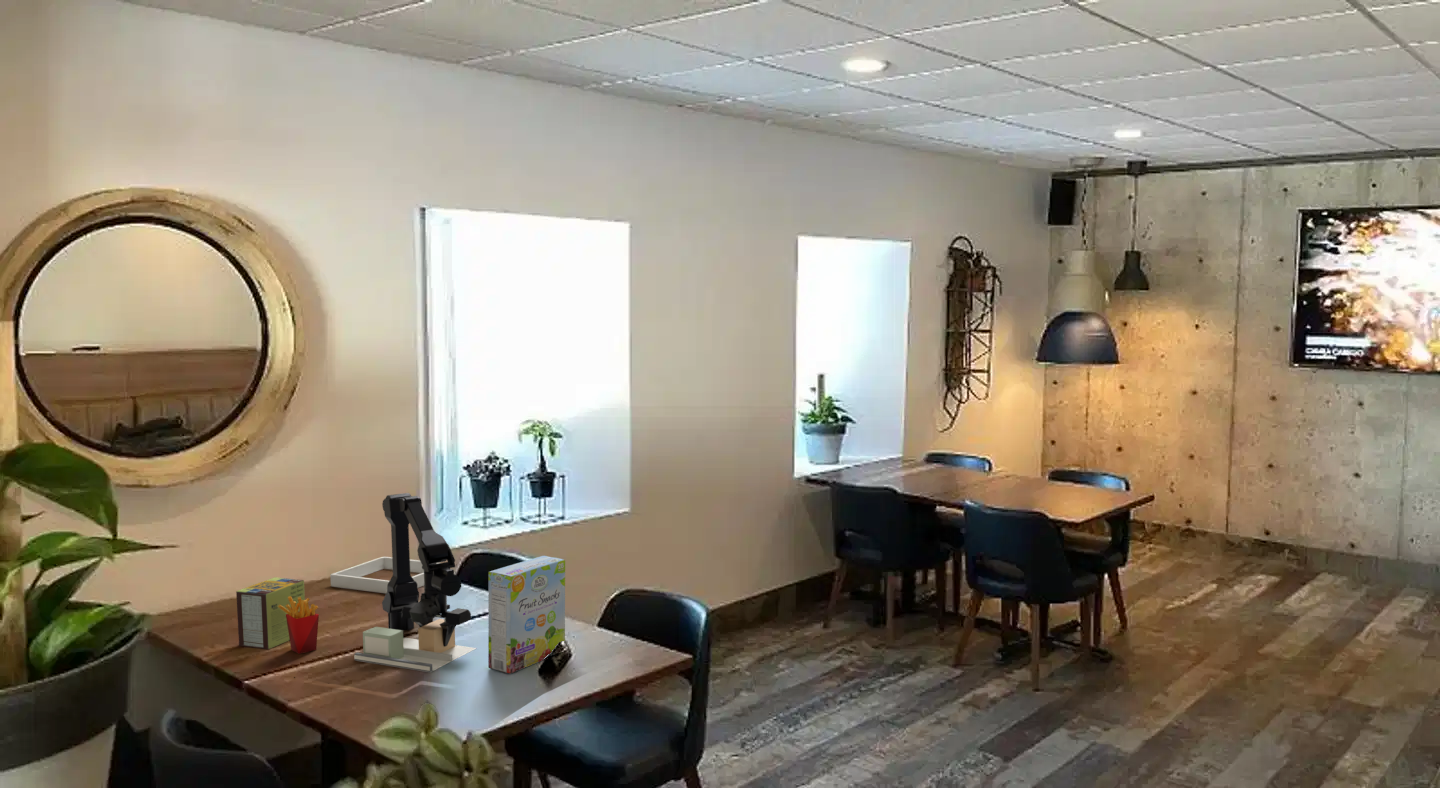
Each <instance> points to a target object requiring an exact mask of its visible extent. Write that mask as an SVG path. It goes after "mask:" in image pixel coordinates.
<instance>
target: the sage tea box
mask: <svg viewBox="0 0 1440 788" xmlns="http://www.w3.org/2000/svg"><path fill="white" fill-rule="evenodd" d="M403 638H404V630H396V629H389V627H382V626H381V627H380V626H374V627H372V628H371V627H370V628H369V629H367V630H364V631H362V644H363V645H362V648H363V652H362V653H365V654H371V655H378V656H384V657H390V658H397V659H399V658H401V657H404V647H403Z"/></svg>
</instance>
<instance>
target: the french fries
mask: <svg viewBox="0 0 1440 788" xmlns="http://www.w3.org/2000/svg"><path fill="white" fill-rule="evenodd" d="M288 599H289V602H290V604H291V607H292V609H291V607H290V606H289V605H288V604H287V605H286V607H287V608H288V609H289V611H290V612H289V611H288V610H287V609H286V608H284V607H283V606H281V605H279V606H278V607H279V608H280V609H282V610H283V611H285V612H286V613H287V614H286V619H287V626H288V632H289V638H290V640H289V643H290V649H291V651H293V652H294V653H297V654H298V655H301V654H305V653H308V652H309V653H310V652H312V651H317V644H318V631H319V619H320V618H319V615H320V614H319V613H317V612H316V610H317V609H319V606H318V605H317V604H316V605H315V603H311V605H309V602H310V600H311V599H310V598H308V597H307V598H305V600H304V601H303V600H301V597H298V602H299V603H297V605H296V602H295V601H293V599H292V597H291V596H289V597H288ZM295 605H296V607H295ZM299 607H300V612H298V609H299Z"/></svg>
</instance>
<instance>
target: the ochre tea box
mask: <svg viewBox="0 0 1440 788" xmlns="http://www.w3.org/2000/svg"><path fill="white" fill-rule="evenodd" d="M443 622H444V618H438V619H435V620H433V622H431V623H429V624H427V625H424V626H422V627H418V628H417V635H418V638H417V640H419V650H424V651H431V652H438V653H442V652H444V651H446V650H448V649H450V648H452V647H454V646H455V645H456V628H455V629H454V631H453V633H452V635H451V638H450V640H449V642H448V645H447V646H444V645H443V629H442V627H441V626H440V624H441V623H443Z"/></svg>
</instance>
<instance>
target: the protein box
mask: <svg viewBox="0 0 1440 788" xmlns="http://www.w3.org/2000/svg"><path fill="white" fill-rule="evenodd" d="M235 594H236V610H237V631H238V646H240V647H247V648H255V649H256V648H257V649H264V650H270V649H272V648H275V647H277V646H279V645H281V644H284V643H286V642H290V638H289V632H288V626H287V619H286V614H287V613H286V612H285V611H283V610H282V609H280V608H279V607H278V606H279V605H281V606H283V607H284V608H286V609H287V610H288V611H289V609H288V608H287V607H286V605H287V604H288V605H289V606H290V607H291V604H290V602H289V599H288V597H289V596H291V597H292V599H293V601H295V602H296V605H297V603H299V602H298V597H301V600H303V601H304V600H306V598H305V597H306V596H305V594H306V593H305V580H304V579H293V578H285V577H284V578H283V577H282V578H281V577H277V576H276V577H275V576H274V577H272V578H270V579H266V580H264V581H260V582H258V583H255V584H253V585H249V586H248V587H244V588H242V589H239V590H236V591H235ZM296 605H295V607H296ZM291 609H292V607H291ZM289 612H290V611H289ZM298 612H300V607H299V609H298Z"/></svg>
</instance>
